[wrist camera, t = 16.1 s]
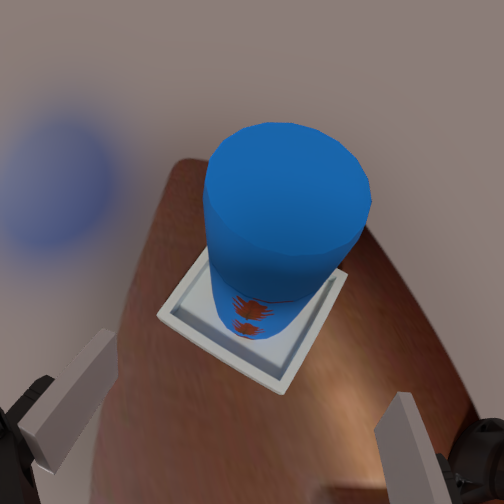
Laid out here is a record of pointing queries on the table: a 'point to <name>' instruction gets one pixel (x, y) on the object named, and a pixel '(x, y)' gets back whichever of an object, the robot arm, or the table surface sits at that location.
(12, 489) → the robot arm
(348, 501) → the table surface
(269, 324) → the thermos
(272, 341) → the tray
